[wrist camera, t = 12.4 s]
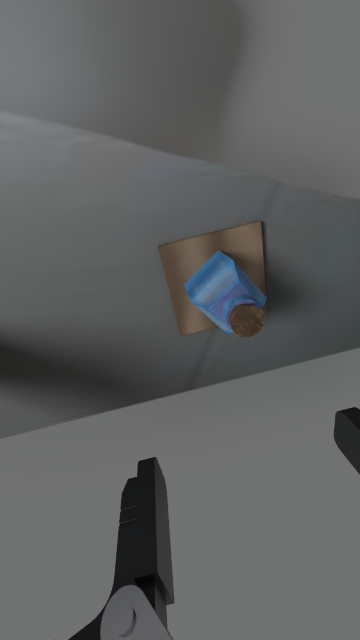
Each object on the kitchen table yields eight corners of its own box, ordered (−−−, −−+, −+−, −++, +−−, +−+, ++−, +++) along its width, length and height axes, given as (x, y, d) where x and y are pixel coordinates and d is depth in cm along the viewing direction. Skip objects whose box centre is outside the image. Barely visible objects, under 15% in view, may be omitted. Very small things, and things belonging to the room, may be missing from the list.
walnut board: (180, 333, 36) (181, 335, 36) (158, 245, 31) (158, 246, 30) (265, 312, 36) (267, 314, 36) (258, 220, 31) (260, 221, 30)
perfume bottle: (248, 282, 33) (294, 319, 22) (214, 313, 35) (242, 362, 24) (218, 250, 31) (253, 274, 20) (184, 284, 32) (199, 324, 22)
